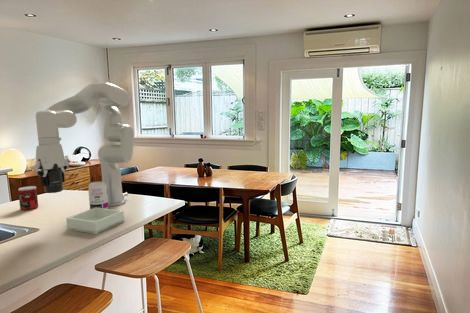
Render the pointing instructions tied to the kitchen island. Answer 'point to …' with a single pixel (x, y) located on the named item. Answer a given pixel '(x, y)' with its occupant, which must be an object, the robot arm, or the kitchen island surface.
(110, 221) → the bin
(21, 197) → the canned food
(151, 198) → the kitchen island surface
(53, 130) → the robot arm
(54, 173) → the supplement bottle
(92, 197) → the supplement can
